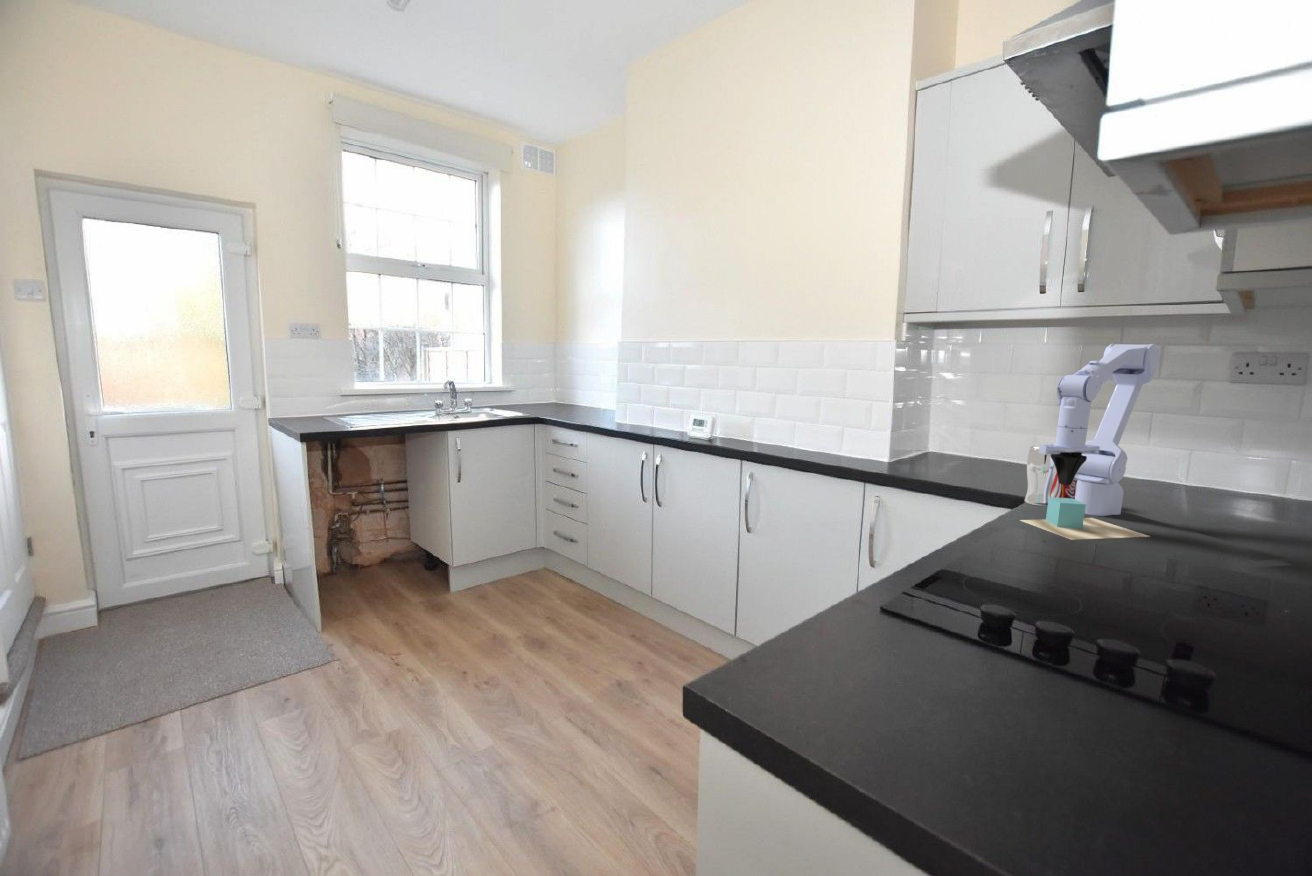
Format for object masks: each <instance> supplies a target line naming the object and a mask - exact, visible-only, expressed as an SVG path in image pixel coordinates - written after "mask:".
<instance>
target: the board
mask: <svg viewBox="0 0 1312 876" xmlns="http://www.w3.org/2000/svg"><path fill="white" fill-rule="evenodd" d="M1019 521H1020V522H1022V523H1025V524H1029V525H1031V526H1034V527H1035V528H1038V529H1042V530H1044V531H1047V532H1050V533H1053V534H1055V535H1056V536H1057V535H1058V536H1061V537H1063V538H1066V539H1069V540H1071V541H1073V540H1095V539H1097V540H1100V539H1101V540H1102V539H1125V538H1147V537H1148V538H1150V537H1151V536H1150V535H1147V534H1144V533H1141V532H1138V531H1135V530H1131V529H1129V528H1126V527H1122V526H1120V525H1115V524H1113V523H1109V522H1106V521H1103V520H1101V519H1097V518H1094V517H1084V521H1083V528H1082V529H1081V528H1066V527H1056V526H1055V525H1053V524H1051V523H1049V522H1048V521H1046V518H1045V519H1019Z"/></svg>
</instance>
